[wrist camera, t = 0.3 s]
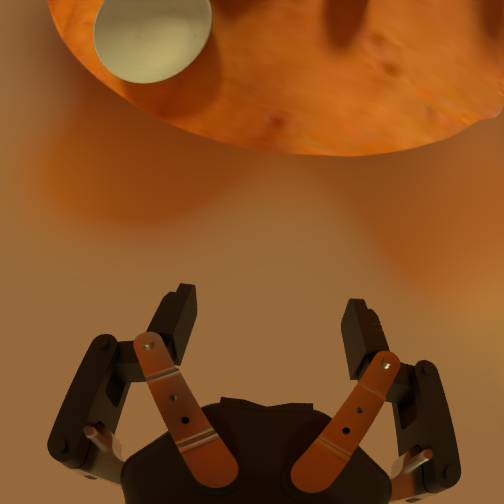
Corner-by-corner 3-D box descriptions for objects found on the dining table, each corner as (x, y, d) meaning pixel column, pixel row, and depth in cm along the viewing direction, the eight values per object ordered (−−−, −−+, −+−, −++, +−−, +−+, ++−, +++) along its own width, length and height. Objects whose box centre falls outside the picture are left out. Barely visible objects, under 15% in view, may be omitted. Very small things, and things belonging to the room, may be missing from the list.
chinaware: (170, 90, 33) (146, 106, 28) (107, 31, 25) (74, 40, 20) (251, 24, 25) (241, 23, 20) (178, -41, 17) (152, -51, 12)
